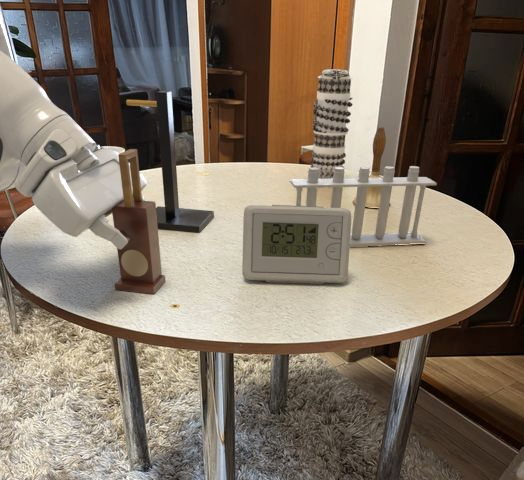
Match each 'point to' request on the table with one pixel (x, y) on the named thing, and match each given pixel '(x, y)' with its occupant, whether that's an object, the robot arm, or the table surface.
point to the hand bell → (376, 169)
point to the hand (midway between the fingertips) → (140, 233)
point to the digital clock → (296, 244)
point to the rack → (172, 172)
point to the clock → (137, 233)
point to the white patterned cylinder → (331, 121)
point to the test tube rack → (362, 184)
